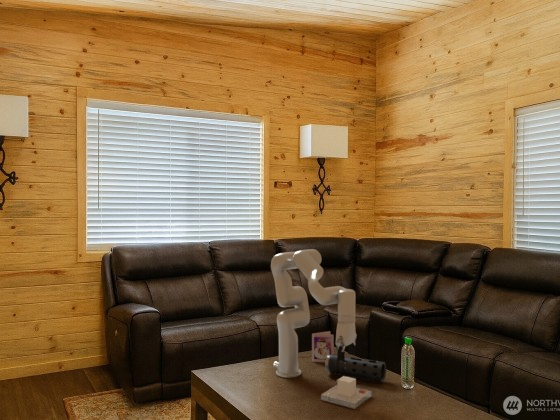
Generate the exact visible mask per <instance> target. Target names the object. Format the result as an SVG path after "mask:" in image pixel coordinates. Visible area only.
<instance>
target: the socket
mask: <svg viewBox="0 0 560 420" xmlns="http://www.w3.org/2000/svg"><path fill="white" fill-rule="evenodd" d="M370 398H372V390H368V389H364V388H360V387H356V393H354V394H353V395H352V396H350V397H349V396H345V395H342V394H338V383H336V385H334V386H333V387H331V388H329V389H328V390H326V391H325V392H323V393H321V394H320V400H321V401H322V402H326V403H330V404H333V405H337V406H341V407H344V408H347V409H351V410H356V409H357V408H359V407H360V406H361V405H363V404H364V403H365V402H366V401H368V400H369V399H370Z"/></svg>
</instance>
